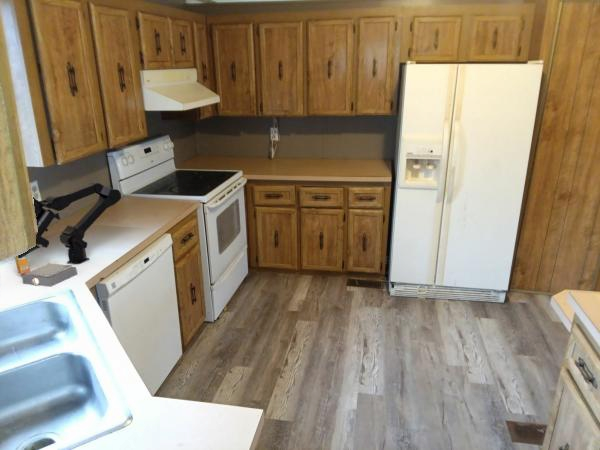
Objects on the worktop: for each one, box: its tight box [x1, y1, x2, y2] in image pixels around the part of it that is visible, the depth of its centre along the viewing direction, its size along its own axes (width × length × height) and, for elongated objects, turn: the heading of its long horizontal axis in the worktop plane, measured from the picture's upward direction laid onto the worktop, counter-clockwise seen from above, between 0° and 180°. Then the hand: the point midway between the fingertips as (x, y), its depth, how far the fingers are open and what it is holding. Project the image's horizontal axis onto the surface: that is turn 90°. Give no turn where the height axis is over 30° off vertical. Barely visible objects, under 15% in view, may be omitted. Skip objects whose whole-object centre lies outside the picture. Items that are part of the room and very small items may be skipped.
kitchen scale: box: [21, 266, 78, 288], centre depth 172 cm, size 14×13×3 cm
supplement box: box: [14, 255, 31, 275], centre depth 173 cm, size 3×3×10 cm
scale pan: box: [25, 263, 73, 277], centre depth 172 cm, size 11×11×1 cm
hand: (16, 257), depth 172 cm, fingers closed on supplement box, 3 cm apart
